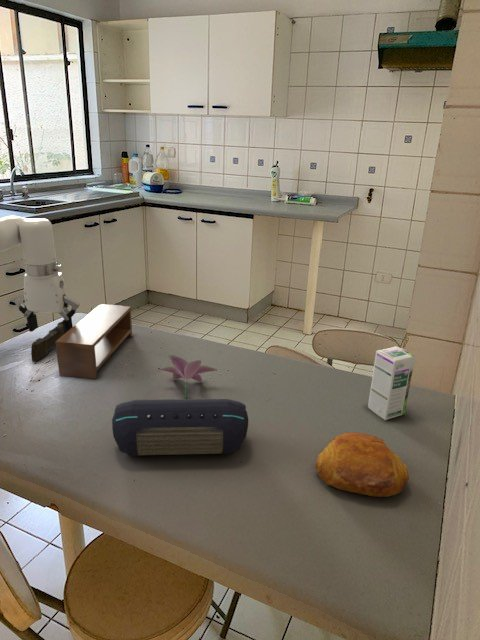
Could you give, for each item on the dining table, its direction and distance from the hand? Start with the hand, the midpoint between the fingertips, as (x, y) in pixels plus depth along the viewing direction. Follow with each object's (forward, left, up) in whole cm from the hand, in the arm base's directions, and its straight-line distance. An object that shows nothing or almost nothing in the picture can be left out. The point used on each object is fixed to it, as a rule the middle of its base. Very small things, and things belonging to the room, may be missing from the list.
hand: (50, 331), depth 123 cm
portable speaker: (+44, -36, -5) cm, 57 cm away
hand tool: (0, 0, -5) cm, 5 cm away
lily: (+40, -14, -5) cm, 43 cm away
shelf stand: (+13, -1, -5) cm, 14 cm away
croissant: (+77, -37, -5) cm, 86 cm away
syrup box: (+85, -15, -5) cm, 87 cm away
